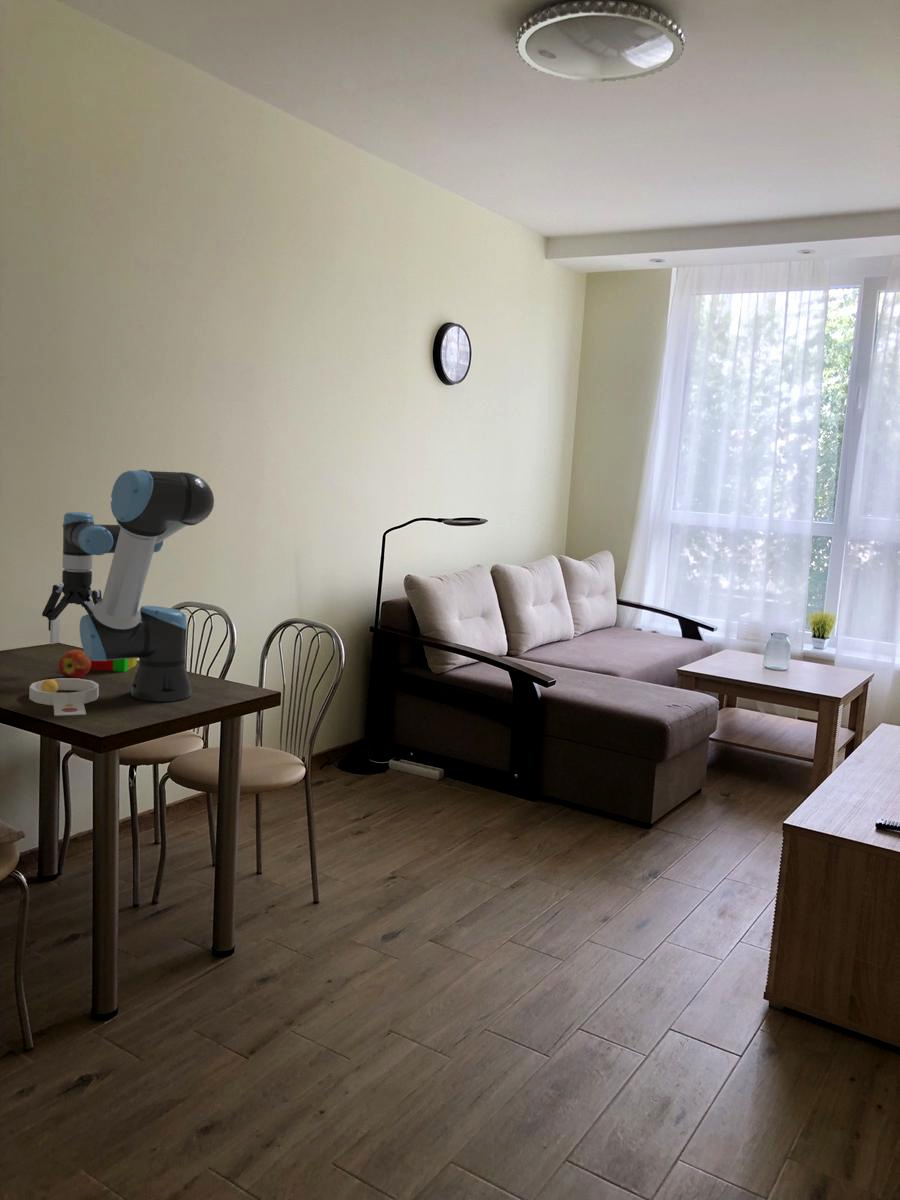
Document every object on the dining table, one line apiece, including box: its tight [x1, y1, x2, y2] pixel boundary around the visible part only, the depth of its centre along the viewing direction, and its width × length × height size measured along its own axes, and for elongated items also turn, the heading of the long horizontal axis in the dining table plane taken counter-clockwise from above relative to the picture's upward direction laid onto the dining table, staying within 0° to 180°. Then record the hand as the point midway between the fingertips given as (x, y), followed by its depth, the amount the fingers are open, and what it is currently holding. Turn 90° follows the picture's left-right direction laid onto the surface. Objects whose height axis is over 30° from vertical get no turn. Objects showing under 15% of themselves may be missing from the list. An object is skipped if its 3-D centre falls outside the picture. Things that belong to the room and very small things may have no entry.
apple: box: [58, 649, 91, 679], centre depth 274 cm, size 8×8×8 cm
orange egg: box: [41, 678, 59, 693], centre depth 255 cm, size 4×4×4 cm
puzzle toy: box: [90, 658, 138, 673], centre depth 290 cm, size 10×10×10 cm
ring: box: [28, 677, 100, 706], centre depth 254 cm, size 16×16×3 cm
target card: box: [53, 702, 87, 717], centre depth 244 cm, size 10×7×1 cm
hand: (75, 646), depth 274 cm, fingers open, 13 cm apart
